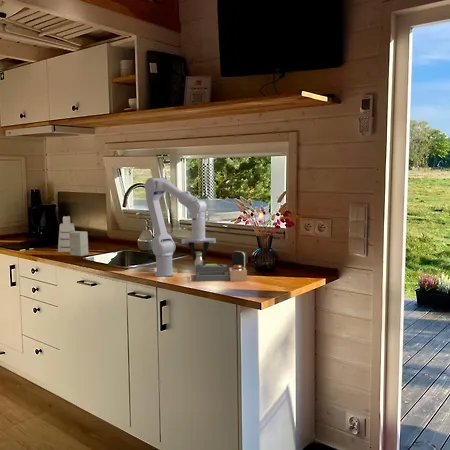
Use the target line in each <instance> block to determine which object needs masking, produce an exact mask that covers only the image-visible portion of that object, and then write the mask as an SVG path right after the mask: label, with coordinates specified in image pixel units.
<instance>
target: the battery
mask: <svg viewBox="0 0 450 450" xmlns="http://www.w3.org/2000/svg"><path fill="white" fill-rule="evenodd" d="M248 258H249V257H248V253H247V251H242V250H234V251H233V252H232V255H231V266H232V267H231V268H233V265H242V267H245V268H246V269H247V267H246V266H247V264H248V262H249V259H248Z"/></svg>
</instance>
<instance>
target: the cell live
mask: <svg viewBox="0 0 450 450" xmlns="http://www.w3.org/2000/svg"><path fill="white" fill-rule="evenodd" d="M194 254H195V260H194V268H195V267H203V265H204V260H203V251H194Z"/></svg>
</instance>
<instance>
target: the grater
mask: <svg viewBox="0 0 450 450" xmlns="http://www.w3.org/2000/svg"><path fill="white" fill-rule="evenodd" d="M58 229H59V231H58V244H57V253H66V252H67V253H70V240H69V232H74V231H76V230H75V229H76V228H75V223H74V222H71V216H70V215H67V216H65V215H63V217H62V222H61V223H60V224H59V228H58Z"/></svg>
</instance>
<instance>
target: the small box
mask: <svg viewBox="0 0 450 450" xmlns="http://www.w3.org/2000/svg"><path fill="white" fill-rule="evenodd" d="M88 236H89V235H88V231H85V230H84V231H83V230H82V231H81V230H80V231H79V230H75V231H74V232H69V240H70V252H69V255H70V256H76V257H77V256H78V257H79V256H80V257H84V256H87V255H89V237H88Z"/></svg>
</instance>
